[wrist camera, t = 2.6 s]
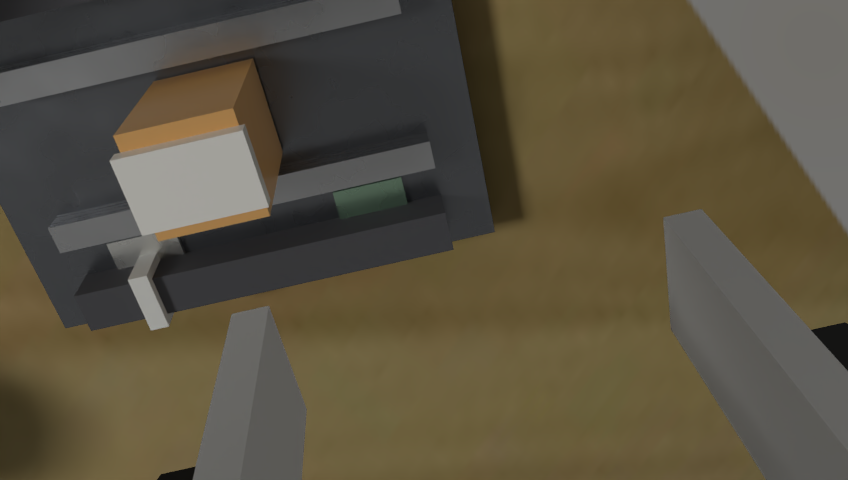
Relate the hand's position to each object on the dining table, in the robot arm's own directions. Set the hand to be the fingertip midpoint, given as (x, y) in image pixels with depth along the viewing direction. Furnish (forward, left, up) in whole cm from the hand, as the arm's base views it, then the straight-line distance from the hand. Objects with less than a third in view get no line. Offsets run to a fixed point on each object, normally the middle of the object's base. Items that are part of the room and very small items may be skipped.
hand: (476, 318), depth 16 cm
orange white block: (0, -8, -18) cm, 19 cm away
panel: (0, -8, -19) cm, 21 cm away
